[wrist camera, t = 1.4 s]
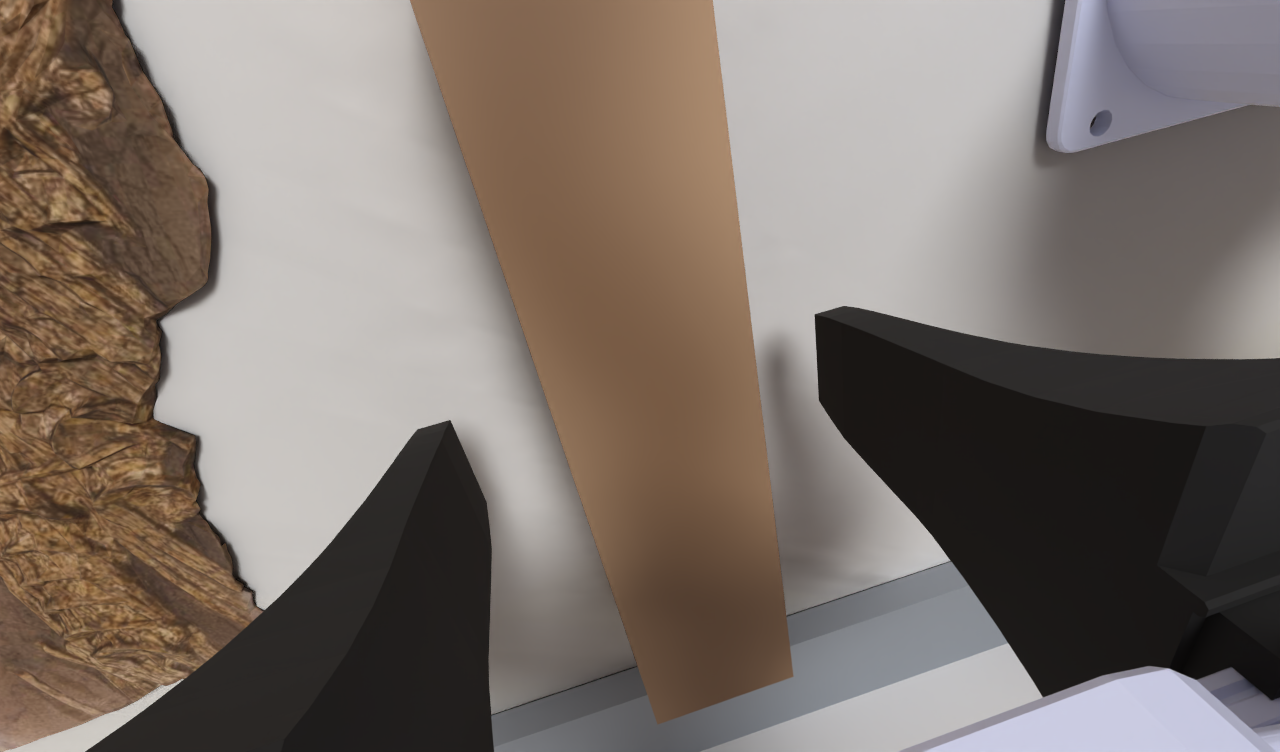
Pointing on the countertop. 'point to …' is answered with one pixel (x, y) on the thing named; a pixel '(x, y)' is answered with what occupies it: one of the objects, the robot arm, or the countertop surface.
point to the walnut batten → (632, 310)
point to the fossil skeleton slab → (95, 383)
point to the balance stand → (814, 684)
